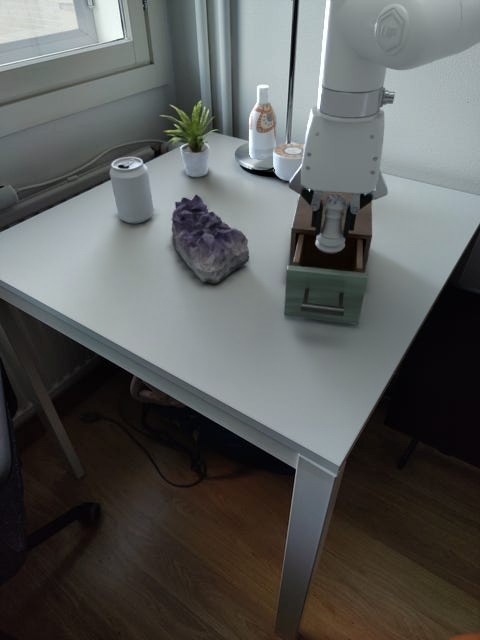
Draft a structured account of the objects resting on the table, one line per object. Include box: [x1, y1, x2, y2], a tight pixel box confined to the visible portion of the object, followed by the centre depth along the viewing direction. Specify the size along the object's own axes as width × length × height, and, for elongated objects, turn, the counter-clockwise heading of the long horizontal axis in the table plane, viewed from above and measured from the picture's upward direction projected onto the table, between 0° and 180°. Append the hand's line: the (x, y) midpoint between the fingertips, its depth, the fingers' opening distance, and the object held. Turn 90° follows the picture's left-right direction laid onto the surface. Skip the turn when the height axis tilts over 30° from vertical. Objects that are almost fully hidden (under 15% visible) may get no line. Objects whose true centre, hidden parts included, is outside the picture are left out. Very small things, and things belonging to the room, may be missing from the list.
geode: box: [171, 194, 250, 285], centre depth 84 cm, size 20×12×10 cm, turn 33°
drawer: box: [283, 233, 368, 325], centre depth 72 cm, size 18×11×9 cm, turn 168°
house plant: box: [160, 100, 220, 178], centre depth 111 cm, size 14×14×16 cm
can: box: [108, 156, 155, 224], centre depth 95 cm, size 8×8×12 cm
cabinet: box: [288, 190, 373, 273], centre depth 81 cm, size 15×13×11 cm
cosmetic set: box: [248, 84, 304, 182], centre depth 106 cm, size 25×9×19 cm, turn 46°
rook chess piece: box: [315, 194, 347, 253], centre depth 67 cm, size 4×4×8 cm
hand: (331, 231), depth 68 cm, fingers closed on rook chess piece, 3 cm apart
